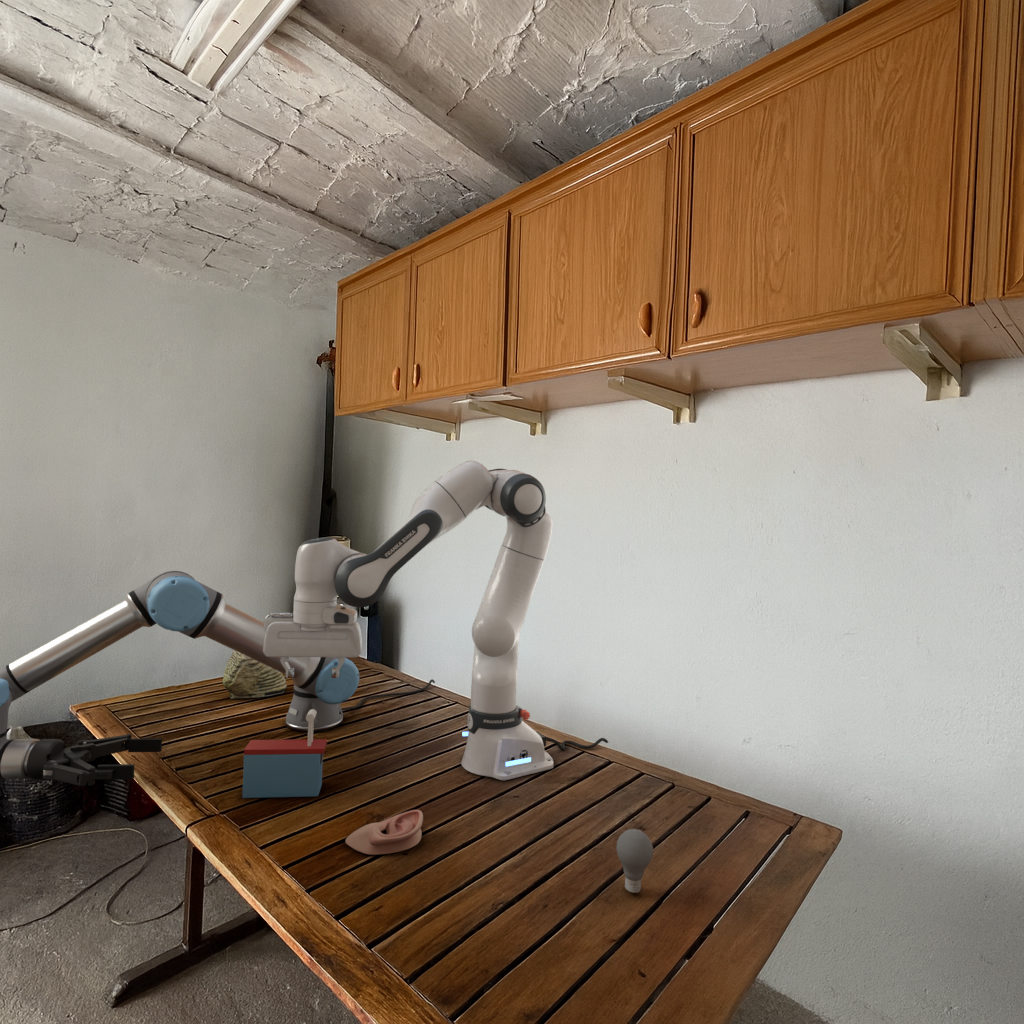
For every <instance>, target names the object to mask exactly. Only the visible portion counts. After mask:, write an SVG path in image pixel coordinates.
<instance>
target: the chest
mask: <svg viewBox="0 0 1024 1024" xmlns="http://www.w3.org/2000/svg"><path fill="white" fill-rule="evenodd" d="M323 764H324V753H323V754H258V755H244V754H243V770H242V771H243V772H242V773H243V775H242V777H243V778H242V797H241V798H242V799H255V798H257V799H258V798H262V799H263V798H297V797H298V798H301V797H303V798H304V797H305V798H306V797H319V794H320V791H321V789H322V785H323V766H324V765H323Z"/></svg>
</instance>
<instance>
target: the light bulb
mask: <svg viewBox="0 0 1024 1024" xmlns="http://www.w3.org/2000/svg"><path fill="white" fill-rule="evenodd" d="M615 849H616V854H617V857H618V859H619V861H620V863H621V865H622V867H623V873H624V874H623V875H624V876H625V878H624V888H625V890H627V891H628V892H630V893H634V894H635V893H639V892H640V891H641V889H642V887H641V886H642V879H643V877H644V875H645V871H646V868H647V867H648V866H649V864H650V863H651V861H652V859H653V855H654V847H653V843H652V841H651V838H649V836H648V835H647V834H646V833H645V832H643V831H642V830H641V829H636V828H629V829H627V830H625V831H623V832H622V833H621V834H620V835H619V837H618V839H617V841H616V847H615Z"/></svg>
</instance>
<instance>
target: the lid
mask: <svg viewBox="0 0 1024 1024" xmlns="http://www.w3.org/2000/svg"><path fill="white" fill-rule="evenodd" d="M316 714H317V712H316V710H314V709H311V710H310V711H309V712H308V714H307V716H306V720H307V721H308V732H307V739H305V738H304V739H250V740H249V742H248V743H247V745H246V747H245V748H244V750H243V756H244V755H258V754H323V755H324V754H325V751H326V748H327V746H328V739H327V738H315V739H314V732H313V727H314V719H315V716H316Z"/></svg>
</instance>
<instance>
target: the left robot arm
mask: <svg viewBox="0 0 1024 1024" xmlns="http://www.w3.org/2000/svg"><path fill="white" fill-rule="evenodd" d="M155 625H158V626H159V627H160V628H162V629H164V630H168V631H171V632H178V633H180V634H183V635H184V636H187V637H188V638H192V639H194V640H196V639H199V638H202V637H206V638H207V639H210V640H212V641H214V642H216V643H218V644H220V645H222V646H224V647H226V648H229V649H231V650H233V651H237V652H239V653H241V654H244V655H246V656H248V657H250V658H252V659H254V660H256V661H258V662H260V663H263V664H265V665H267V666H269V667H271V668H273V669H275V670H277V671H280V672H281V673H282V674H283V675H286V670H285V669H284V667H283V665H282V664H281V657H267V656H266V655H265V654H264V653H263V647H264V640H265V635H266V632H265V630H264V621H262V620H259V619H257V618H256V617H253V616H252V615H249V614H248V613H246V612H244V611H241V610H239V609H237V608H236V607H234V606H232V605H230V604H228V603H226V602H225V598H224V595H223V593H221V592H219V591H217V590H216V589H214V588H211V587H210V586H207V585H206V584H203V583H202V582H200V581H198V580H196V579H195V578H194V577H193V576H192V575H190V574H189V573H187V572H184V571H180V570H169V571H165V572H162V573H159V574H158V575H156V576H154V577H153V578H151V579H149V580H148V581H146V582H145V583H143V584H142V585H140V586H138V587H137V588H135V589H133V590H131V591H129V592H128V593H126V596H125V599H124V600H122V601H120V602H118V603H116V604H115V605H113V606H111V607H110V608H108V609H106V610H104V611H101V613H99V614H97V615H95V616H93V617H91V618H89V619H88V620H86V621H83V622H82V623H80V624H78V625H77V626H74V627H73V628H71V629H70V630H68V631H66V632H63V633H62V634H61V635H58V636H57V637H55V638H53V639H52V640H50V641H48V642H46V643H44V644H42V645H41V646H38V647H36V648H35V649H33V650H31V651H30V652H28V653H26V654H24V655H22V656H21V657H19V658H17V659H15V660H13V661H11V662H10V663H8V664H6V665H4V666H2V667H1V668H0V780H16V781H17V782H21V781H22V780H28V779H32V780H54V781H58V782H62V783H66V784H71V785H74V786H78V787H85V786H86V785H87V786H88V787H89V786H90V787H93V786H94V785H96V781H121V780H126V781H127V780H129V781H130V780H133V779H134V778H135V764H134V763H132V764H131V763H129V764H126V763H125V764H122V763H121V764H98V765H97V766H96V767H95V766H94V765H92V764H90V763H89V762H93V761H95V760H96V759H97V758H101V757H105V756H110V755H114V754H117V753H122V752H127V753H161V752H162V751H163V738H157V737H154V738H152V737H151V738H149V737H147V738H143V737H142V738H132V733H126V734H122V735H117V736H116V735H115V736H114V735H113V736H109V737H102V738H101V737H100V738H96V739H95V738H94V739H81V740H78V741H77V744H76V745H75V744H74V745H72V746H69V747H67V745H66V744H65V742H64V741H63V740H62V739H59V738H48V739H47V738H43V739H38V738H25V739H23V738H20V739H19V738H17V739H9V738H8V723H9V721H8V720H9V711H10V710H9V709H10V706H11V704H12V703H13V702H14V701H16V700H18V699H19V698H21V697H23V696H25V695H26V694H28V693H30V692H31V691H33V690H35V689H36V688H38V687H40V686H42V685H43V684H45V683H47V682H49V681H51V680H52V679H54V678H55V677H57V676H60V675H61V674H62V673H64V672H67V670H70V669H71V668H73V667H75V666H76V665H78V664H80V663H82V662H83V661H85V660H87V659H89V658H90V657H92V656H94V655H96V654H98V653H100V652H101V651H103V650H104V649H106V648H108V647H110V646H111V645H113V644H115V643H117V642H119V641H120V640H122V639H124V638H125V637H127V636H129V635H131V634H132V633H135V632H137V631H138V630H140V629H141V628H143V627H145V628H151V627H153V626H155ZM337 659H338V657H289V660H288V661H287V662H288V664H289V666H290V667H291V668H294V677H293V678H292V683H293V695H292V696H293V697H292V699H291V702H290V704H289V708H288V711H287V713H286V715H285V726H286V728H287V729H289V730H291V731H294V732H295V731H296V732H301V733H308V721H307V720H306V716H307V714H308V712H309V711H310V710H311V709H314V710H316V712H317V714H316V716H315V719H314V727H313V733H316V732H325V731H329V730H332V729H335V728H337V727H339V726H340V725H342V723H343V722H344V714H343V711H348V710H355V709H358V708H360V707H361V705H362V704H363V702H364V701H368V700H370V699H376V698H383V697H384V698H385V697H392V696H393V697H394V696H405V695H412V694H415V693H416V694H417V693H420V692H423V691H425V690H426V689H428V688H429V687H430V686H431V684H432V683H433V684H435V683H436V681H435V680H434V679H433V678H432V679H430V680H429V681H428V684H426V686H423V687H422V688H418V689H415V690H409V691H403V692H390V693H383V694H375V695H369V696H365V697H363V698H362V699H361V700H360V701H359V702H358V704H356V705H353V706H346V707H342V706H341V704H342V703H344V702H346V701H348V700H349V699H350V698H351V697H352V696H353V695H354V694H355V693H356V691H357V689H358V687H359V684H360V671H359V669H358V666H356V664H355V663H354V661H352V660H351V659H349V658H348V657H345V661H344V663H343V665H342V666H341V668H340V670H339V678H331V675H332V668H337V666H338V665H339V663H340V662H337Z"/></svg>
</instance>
